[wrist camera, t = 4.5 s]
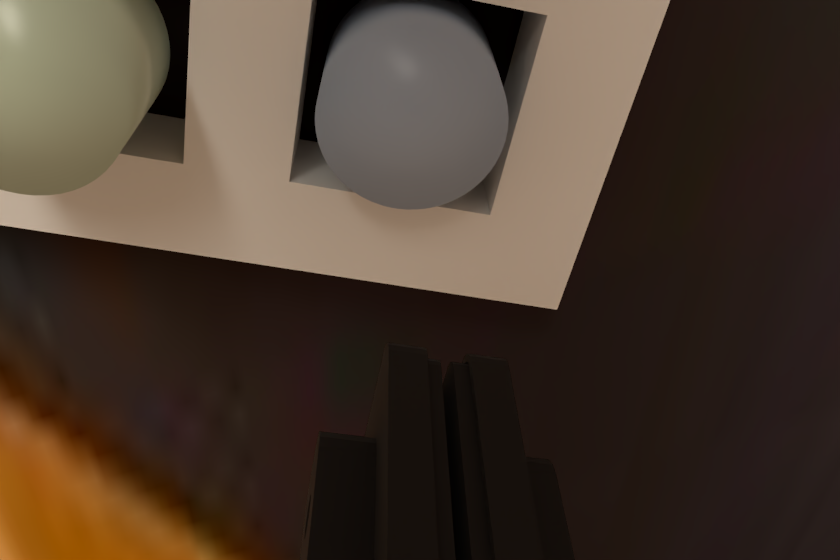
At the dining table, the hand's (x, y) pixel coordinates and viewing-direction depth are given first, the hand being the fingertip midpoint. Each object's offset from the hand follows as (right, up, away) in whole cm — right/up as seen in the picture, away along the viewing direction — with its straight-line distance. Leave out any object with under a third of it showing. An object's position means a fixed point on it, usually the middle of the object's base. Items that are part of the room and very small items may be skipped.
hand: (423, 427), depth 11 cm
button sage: (-9, +8, +10) cm, 16 cm away
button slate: (0, +8, +13) cm, 15 cm away
